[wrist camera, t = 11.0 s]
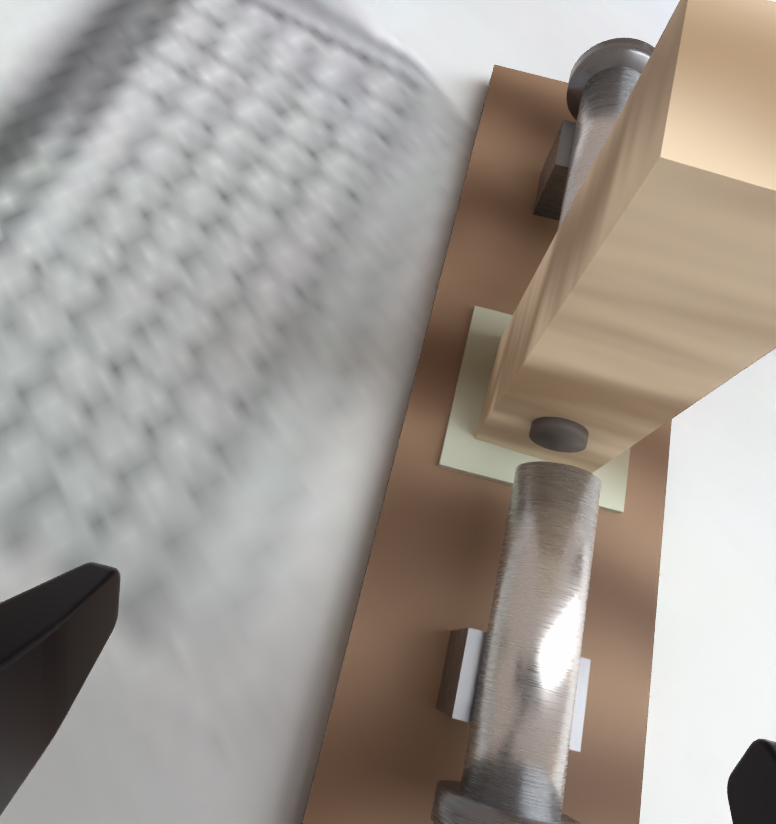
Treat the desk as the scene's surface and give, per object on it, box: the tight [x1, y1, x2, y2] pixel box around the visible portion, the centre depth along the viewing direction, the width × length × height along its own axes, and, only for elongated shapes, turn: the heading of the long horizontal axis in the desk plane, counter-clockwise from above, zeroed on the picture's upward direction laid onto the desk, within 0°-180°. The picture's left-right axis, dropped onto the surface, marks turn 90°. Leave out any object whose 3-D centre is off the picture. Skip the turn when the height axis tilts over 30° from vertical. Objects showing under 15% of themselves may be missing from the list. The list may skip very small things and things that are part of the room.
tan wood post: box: [474, 0, 776, 473], centre depth 17 cm, size 5×4×14 cm
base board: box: [302, 65, 672, 824], centre depth 24 cm, size 34×10×2 cm, turn 165°
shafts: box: [431, 38, 655, 824], centre depth 21 cm, size 28×4×5 cm, turn 165°
